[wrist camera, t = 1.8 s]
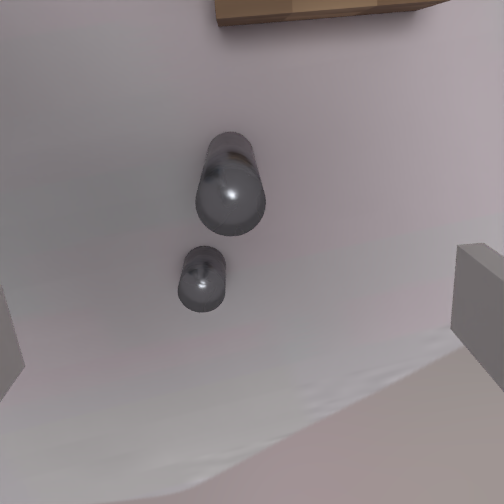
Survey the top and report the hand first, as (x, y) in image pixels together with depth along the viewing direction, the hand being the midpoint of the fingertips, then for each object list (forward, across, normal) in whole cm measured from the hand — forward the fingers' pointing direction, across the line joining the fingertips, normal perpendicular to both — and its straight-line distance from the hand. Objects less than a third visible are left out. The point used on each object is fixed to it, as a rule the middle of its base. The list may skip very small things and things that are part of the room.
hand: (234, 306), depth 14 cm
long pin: (+25, 0, 0) cm, 25 cm away
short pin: (+25, -3, -9) cm, 26 cm away
